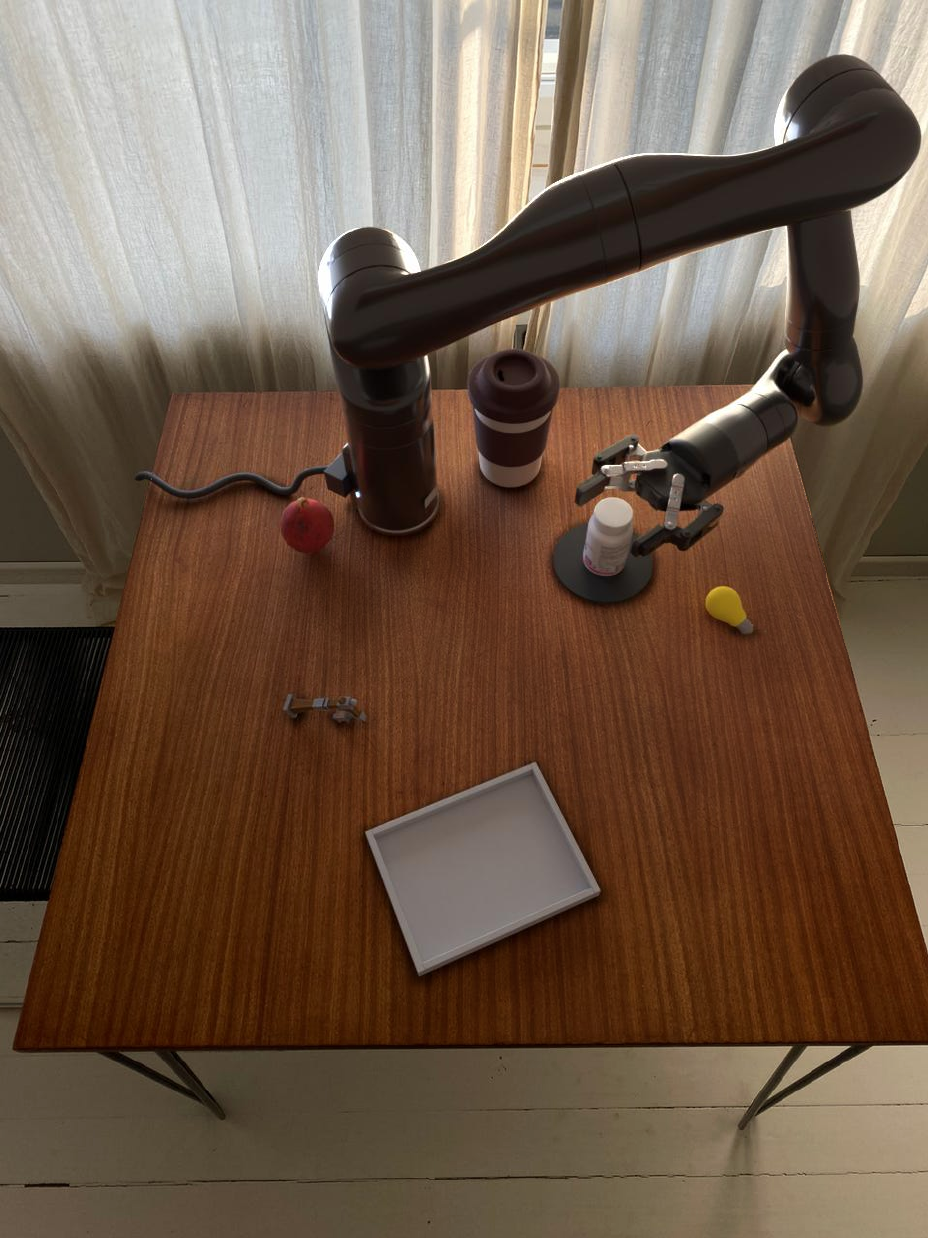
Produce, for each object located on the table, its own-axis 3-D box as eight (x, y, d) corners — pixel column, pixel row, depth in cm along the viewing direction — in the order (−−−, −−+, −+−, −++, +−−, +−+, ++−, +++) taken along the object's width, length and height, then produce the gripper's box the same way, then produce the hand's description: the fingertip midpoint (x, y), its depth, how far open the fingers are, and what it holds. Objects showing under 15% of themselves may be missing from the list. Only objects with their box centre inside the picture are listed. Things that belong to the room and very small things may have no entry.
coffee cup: (563, 450, 106) (575, 352, 93) (532, 508, 101) (540, 413, 88) (489, 426, 108) (490, 327, 96) (455, 482, 103) (452, 385, 91)
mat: (535, 576, 96) (535, 574, 96) (581, 509, 101) (582, 507, 101) (625, 620, 93) (625, 618, 92) (668, 549, 98) (669, 547, 97)
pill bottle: (579, 544, 98) (587, 495, 91) (621, 541, 98) (632, 492, 91) (586, 579, 95) (594, 531, 88) (629, 575, 95) (641, 527, 88)
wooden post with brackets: (372, 728, 85) (349, 706, 82) (306, 729, 89) (281, 708, 86) (377, 712, 86) (354, 689, 83) (311, 714, 90) (287, 692, 87)
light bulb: (729, 575, 91) (708, 595, 90) (769, 617, 90) (749, 638, 89) (713, 586, 94) (693, 606, 93) (753, 627, 93) (732, 647, 92)
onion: (330, 570, 97) (318, 526, 90) (280, 562, 97) (265, 517, 91) (344, 530, 100) (334, 483, 93) (296, 522, 100) (282, 476, 94)
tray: (419, 976, 74) (418, 973, 73) (366, 837, 81) (364, 831, 79) (598, 895, 77) (601, 890, 76) (534, 767, 84) (535, 761, 83)
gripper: (673, 390, 95) (562, 459, 90) (773, 466, 89) (660, 545, 84) (661, 438, 102) (556, 506, 96) (754, 513, 96) (647, 589, 90)
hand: (605, 524), depth 90 cm, fingers open, 8 cm apart
